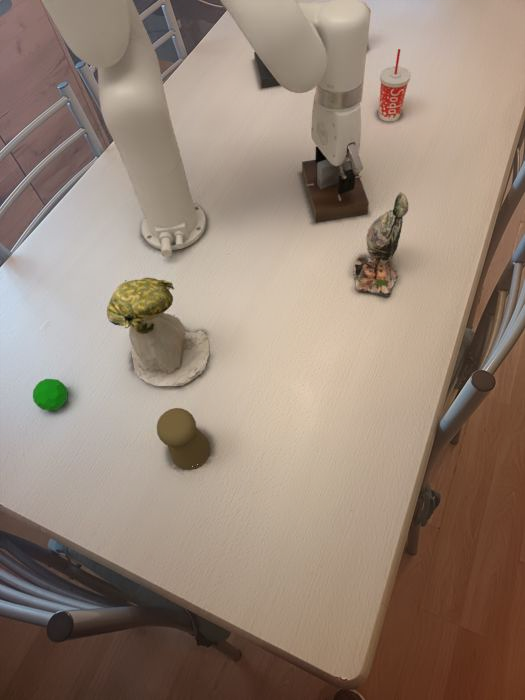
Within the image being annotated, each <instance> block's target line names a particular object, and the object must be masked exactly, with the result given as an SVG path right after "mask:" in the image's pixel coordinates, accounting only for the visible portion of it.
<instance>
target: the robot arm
mask: <svg viewBox="0 0 525 700" xmlns="http://www.w3.org/2000/svg"><path fill="white" fill-rule="evenodd" d="M40 1H41V2H42V4H43V6H44V8H45V9H46V11H47V13H48V14H49V16H50V18H51V20H52V21H53V23H54V25H55V26H56V28H57V30H58V33H59V34H60V35H61V38H62V39H63V41H64V42H65V44H66V46H67V47H68V48H69V50H70V51H71V52H72V53H73V54H74V55H75V56H76V57H77V58H78V59H79V60H81V61H82V62H83V63H85V64H87V65H88V66H90V67H93V68H94V67H95V68H96V69H97V86H98V100H99V106H100V112H101V115H102V119H103V121H104V125H105V127H106V129H107V131H108V133H109V135H110V136H111V138H112V140H113V142H114V145H115V146H116V148H117V151H118V153H119V156H120V158H121V161H122V163H123V166H124V169H125V171H126V172H127V175H128V179H129V181H130V183H131V186H132V188H133V191H134V194H135V196H136V199H137V201H138V204H139V206H140V210H141V211H142V214H143V219H142V221H141V225H140V226H141V227H140V229H141V233H142V236H143V238H144V240H145V242H146V243H147V244H149V246H151V247H153V248H154V249H157V250H160V253H161V256H163V257H165V258H168V257H169V258H170V257H171V256H173V251H177V250H182V249H184V248H187V247H189V246H191V245H192V244H195V242H197V241H198V240H199V239H200V238H201V237H202V235H203V234H204V233H205V230H206V227H207V219H206V215H205V212H204V210H203V209H202V207H200V206H199V205H198V204H197V203H195V202H194V200H193V197H192V193H191V190H190V185H189V182H188V178H187V173H186V171H185V170H186V169H185V167H184V163H183V158H182V155H181V152H180V148H179V144H178V140H177V137H176V133H175V130H174V127H173V122H172V119H171V113H170V110H169V106H168V101H167V97H166V93H165V87H164V81H163V77H162V73H161V66H160V61H159V58H158V54H157V52H156V50H155V46H154V45H153V43H152V41H151V38H150V36H149V34H148V32H147V29H146V27H145V24H144V23H143V20H142V18H141V15H140V14H139V11H138V9H137V7H136V5H135V2H134V0H40ZM219 1H220V3H221V5H223V7H224V8H225V10H226V11H227V12H228V14H229V15H230V16H231V18H232V19H233V21H234V22H235V24H236V25H237V27H238V29H239V30H240V31H241V33H242V34H243V36H244V37H245V39H246V41H247V42H248V44H249V45H250V46H251V48H252V49H253V52H256V54H257V55H258V56H259V58H260V59H261V60H262V62H263V63H264V64H265V66H266V67H267V68H268V70H269V71H270V72H271V74H272V75H273V76H274V78H275V79H276V80H277V81H278V83H279V84H280V85H281V87H282V88H283V89H285V90H287V91H289V92H291V93H295V94H304V93H309V92H310V91H312V90H315V92H314V96H313V103H312V112H311V126H310V127H311V130H310V134H311V139H312V141H313V143H314V144H315V157H314V158H315V159H314V160H315V163H316V164H317V163H318V162H321V161H323V160H326V159H328V161H329V162H330V163H331V164H332V165H334V166H339V169H340V173H341V175H340V176H339V179H338V193H339V194H343V193H345V192H348V191H351V190H353V189H354V185H355V175H356V174H361V171H363V169H364V165H363V163H362V160H361V158H360V155H359V154H360V150H361V149H360V148H361V137H362V111H361V109H362V108H361V103H362V100H363V91H364V81H365V72H366V71H365V70H366V60H367V53H368V44H367V42H368V41H369V33H368V32H370V23H369V20H370V21H371V13H370V14H369V10H368V8H367V6H368V5H367V3H366V2H364V1H362V0H327V1H326V2H301V1H297V0H219ZM365 3H366V4H365ZM366 5H367V6H366ZM368 43H369V42H368ZM347 154H348V156H349V157H347V158H345V157H346V155H347ZM349 161H350V165H351V169H350V170H347V171H345V166H344V163H346V162H349Z"/></svg>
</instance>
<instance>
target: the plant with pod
mask: <svg viewBox="0 0 525 700" xmlns="http://www.w3.org/2000/svg"><path fill="white" fill-rule="evenodd" d="M408 212H409V201H408V197H407V196H406V194H405V193H403V192H401V191H400V192H399V193H398V194H397V196H396V198H395V201H394V205H393V209H389V210H388V211H385V212H384V213H383V214H381V215H380V216H379V217H377V218H376V219H375V220H374V221H373V222H372V223H371V225H370V227H368V229H367V232H366V237H365V238H366V247H367V249H366V251H367V253H368V254H369V256H370V257H371V258H370V257H366V256H361V257H357V258H356V262H355V264H354V266H353V269H352V272H353V276H354V277H353V280H354V281H355V290H356V291H358V292H361V293H362V292H365V293H367V292H369V293H371V294H372V293H374V295H381V297H384V298H385V297H388V296H390V295H391V292H392V290H393V287H394V285H395V283H396V281H397V279H398V273H397V270H395V267H394V264H393V262H392V261H391V260H392V259H393V257H394V255H395V253H396V251H397V250H398V247H399V241H400V238H401V233H402V228H403V223H404V220H403V219H404V218H403V217H405V216H406V214H407V213H408Z"/></svg>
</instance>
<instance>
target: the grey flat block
mask: <svg viewBox="0 0 525 700" xmlns="http://www.w3.org/2000/svg"><path fill="white" fill-rule="evenodd" d="M347 157H349V156H348V154H347V155H346V157H345V158H347ZM344 166H345V171H347V170H350V169H351V165H350V161H349V162H346V163H344ZM340 175H341V173H340V169H339V166H334V165H332V164H331V163H330V162H329V161H328V159H326V160H323V161H321V162H318V163H317V185H318V186H319V187H320V189H324V188H327V187H329V186H332V185H335V184H337V183H338V179H339V176H340Z"/></svg>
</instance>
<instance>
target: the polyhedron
mask: <svg viewBox="0 0 525 700" xmlns="http://www.w3.org/2000/svg"><path fill="white" fill-rule="evenodd" d="M32 399H33V402H34V404H35V405H36V406H37V407H38V408H40V409H41V410H43V411H55V410H58V409H60V408H62V407H63V405H65V403H66V401H67V399H68V389H67V386H66V385H65V384H64V383H63V382H61V381H60V380H59V379H55V378H45V379H43V380H41V381H39V382H38V383H37V384H36V385H35V386H34V388H33V390H32Z"/></svg>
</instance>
